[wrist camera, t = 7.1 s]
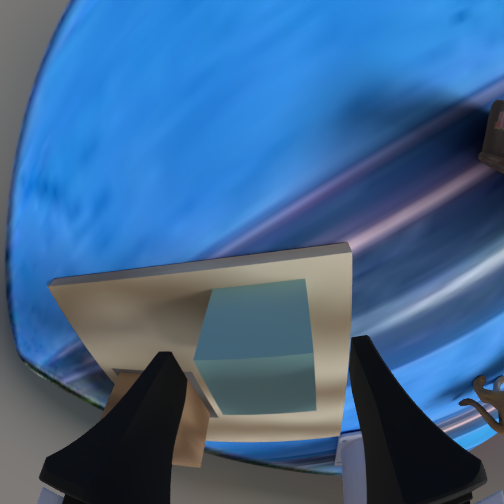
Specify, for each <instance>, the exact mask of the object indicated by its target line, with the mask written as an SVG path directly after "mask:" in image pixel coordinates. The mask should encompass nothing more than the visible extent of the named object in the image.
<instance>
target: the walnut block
mask: <svg viewBox="0 0 504 504" xmlns="http://www.w3.org/2000/svg"><path fill="white" fill-rule="evenodd" d="M140 375H141V374H137V373H123V372H120V373H119V375H118V378H117V380H116V382H115V385H114V387H113V390H112V392H111V394H110V397H109V399H108V402H107V404H106V407H105V409H104V412H103V414H102V417H101V419H103V418H104V417H105V416H106V415H107V414H108V413H109V412H110V411H111V410H112V409H113V408H114V406H115V405H116V404H117V403H118V402H119V401H120V400H121V398H122V397H123V396H124V395H125V394H126V393H127V391H128V390H129V389H130V388H131V386H132V385H133V384H134V383H135V381H136V380H137V379H138V378H139V376H140ZM185 376H186V375H185ZM186 377H187V376H186ZM187 379H188V378H187ZM209 418H210V413H209V411H208V410H207V408H206V407H205V405H204V403H203V402H202V400H201V399H200V397H199V396H198V394H197V392H196V391H195V389H194V388H193V386H192V384H191V383H190V381H189V379H188V382H187V392H186V400H185V404H184V409H183V413H182V417H181V421H180V425H179V429H178V433H177V437H176V441H175V445H174V451H173V459H172V464H173V465H180V466H188V467H198V468H201V462H202V457H203V451H204V446H205V440H206V434H207V429H208V423H209ZM101 419H100V420H101Z"/></svg>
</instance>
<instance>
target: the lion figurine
mask: <svg viewBox="0 0 504 504" xmlns="http://www.w3.org/2000/svg"><path fill="white" fill-rule="evenodd" d="M485 382H486V377H484V376H483V375H482V376H479V377H478V378H476V379H475V381H474V383H473V386H474V391H475V392H476V394H477V395H478V397H479V398H480V400H481V401H482V402H484V403H489V404H491V405H492V406H494V407H495V408H496V409H497V410H498V415H499V423H498V422H497V421H496V420H495V419H494V418H493V417H492V416H491V415H490V414H489V413H488V412H487V411H486V410H485V409H484V408H483V407H482V406H481V405H480V404H479V403H478V402H476V401H474V400H473V399H469V398H467V399H463V400H462V401H460V402H459V405H460V406H466V405H471V406H473V407H475V408H476V409H477V410H478V412H479V413H480V414H481V415H482V417H483V418H484V419H485V421H486V422H487V423H488V424H489V426H490V427H491V428H492V429H493V430H495V431H496V432H497V433H499V434H502V435H504V391H500V385H501V384H502V383H503V382H504V376H501V377H499V378H497V379H496V380H495V382H494V384H493V390H487V389H484V388H483V384H484V383H485Z"/></svg>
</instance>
